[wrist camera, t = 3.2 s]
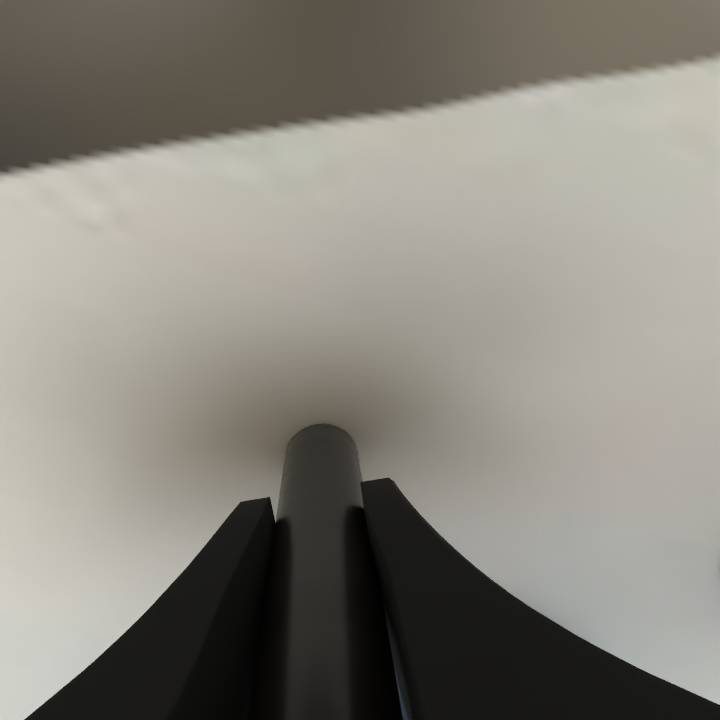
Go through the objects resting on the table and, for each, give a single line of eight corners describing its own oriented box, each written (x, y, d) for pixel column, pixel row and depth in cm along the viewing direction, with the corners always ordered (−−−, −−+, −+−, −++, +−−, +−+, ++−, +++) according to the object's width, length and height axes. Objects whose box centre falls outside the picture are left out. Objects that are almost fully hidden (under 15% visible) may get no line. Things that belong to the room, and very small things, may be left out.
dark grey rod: (313, 410, 12) (302, 834, 4) (371, 448, 13) (480, 902, 4) (270, 465, 13) (170, 968, 4) (329, 500, 13) (348, 1018, 5)
